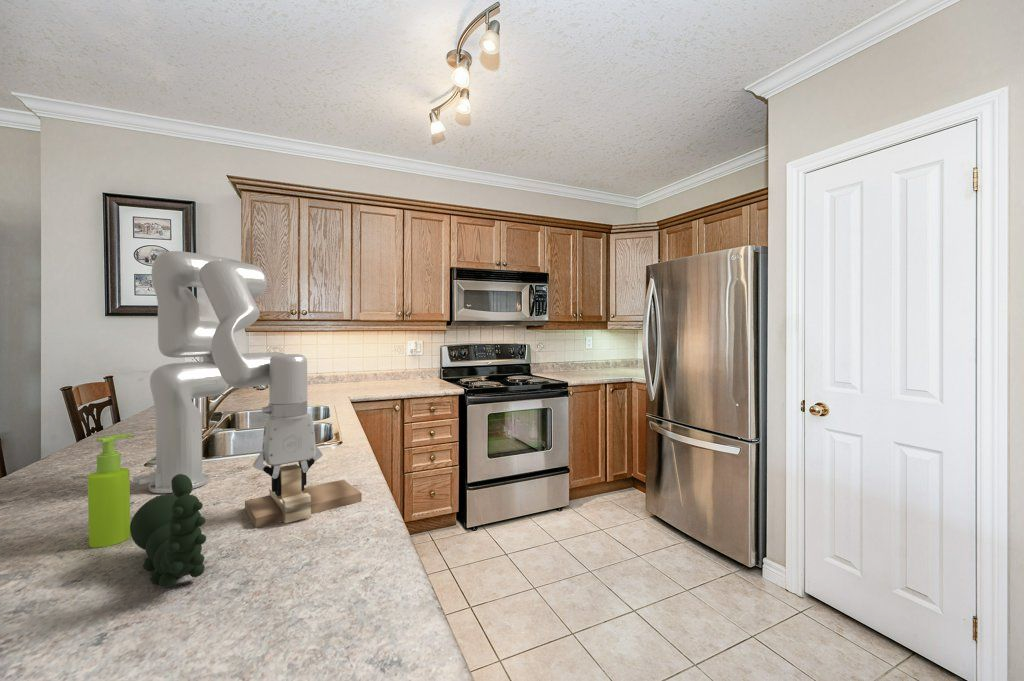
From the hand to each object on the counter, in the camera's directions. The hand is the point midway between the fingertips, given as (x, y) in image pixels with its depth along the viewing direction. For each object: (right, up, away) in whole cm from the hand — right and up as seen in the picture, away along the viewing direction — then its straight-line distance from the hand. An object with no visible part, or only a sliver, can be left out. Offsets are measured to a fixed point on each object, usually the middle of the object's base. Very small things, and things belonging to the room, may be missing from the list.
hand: (289, 490), depth 98 cm
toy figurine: (-8, -5, -23) cm, 25 cm away
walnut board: (+2, -4, +4) cm, 6 cm away
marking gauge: (0, -4, 0) cm, 4 cm away
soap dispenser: (-27, -5, -13) cm, 31 cm away
